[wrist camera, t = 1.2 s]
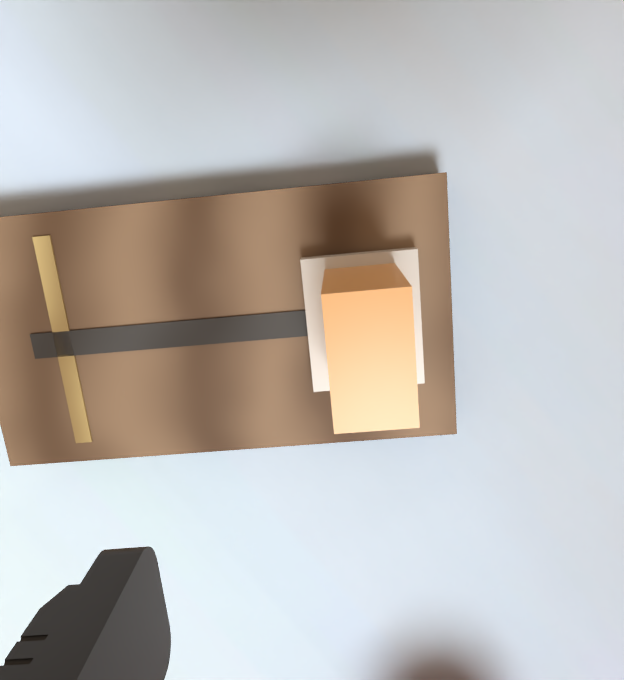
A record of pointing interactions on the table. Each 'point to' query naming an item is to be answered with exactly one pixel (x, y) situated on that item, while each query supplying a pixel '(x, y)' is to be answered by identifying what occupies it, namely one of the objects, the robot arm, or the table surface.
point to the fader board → (200, 319)
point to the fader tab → (366, 336)
